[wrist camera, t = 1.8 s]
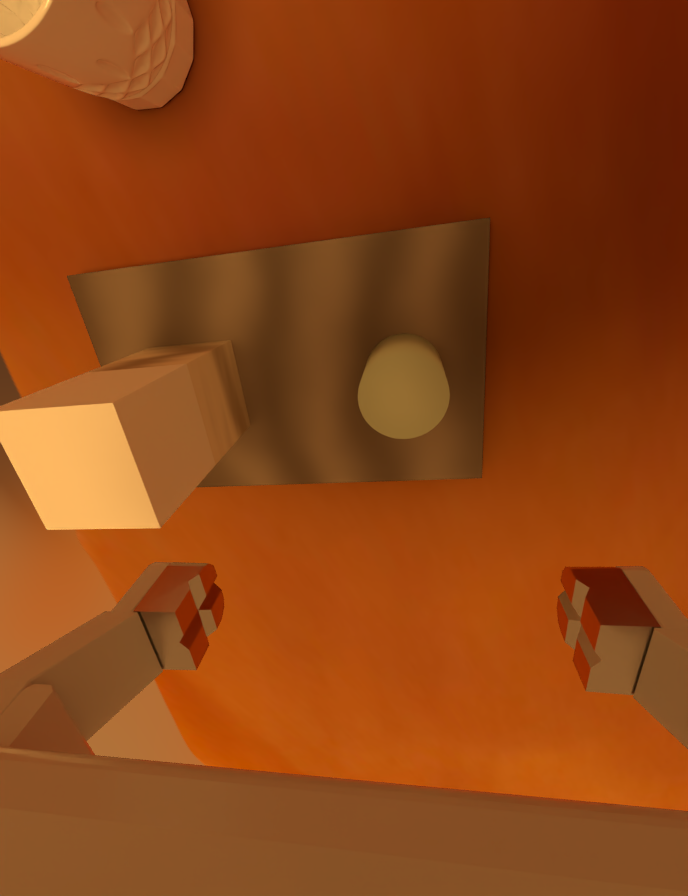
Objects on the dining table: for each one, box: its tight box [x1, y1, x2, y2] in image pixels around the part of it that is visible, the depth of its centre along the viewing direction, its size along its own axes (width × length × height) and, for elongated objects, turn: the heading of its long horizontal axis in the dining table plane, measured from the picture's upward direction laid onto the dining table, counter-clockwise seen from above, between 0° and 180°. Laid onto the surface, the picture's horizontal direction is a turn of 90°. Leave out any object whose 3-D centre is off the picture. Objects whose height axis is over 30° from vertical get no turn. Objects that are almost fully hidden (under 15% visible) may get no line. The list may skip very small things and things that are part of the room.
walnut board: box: [67, 218, 490, 487], centre depth 28 cm, size 26×16×2 cm, turn 97°
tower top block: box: [0, 364, 215, 530], centre depth 20 cm, size 6×6×6 cm
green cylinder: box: [358, 333, 450, 439], centre depth 24 cm, size 5×5×5 cm
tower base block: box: [86, 340, 250, 465], centre depth 26 cm, size 6×6×6 cm
